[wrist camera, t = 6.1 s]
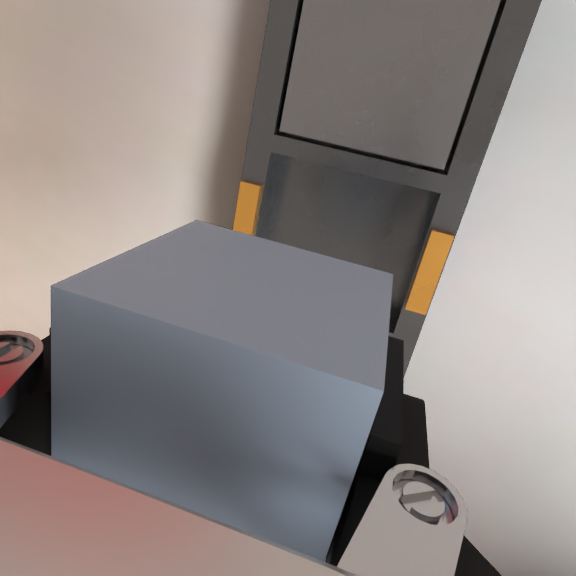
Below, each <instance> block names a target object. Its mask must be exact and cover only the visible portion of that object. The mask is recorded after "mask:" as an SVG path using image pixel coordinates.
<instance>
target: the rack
mask: <svg viewBox="0 0 576 576" xmlns="http://www.w3.org/2000/svg"><path fill="white" fill-rule="evenodd" d="M541 1H542V0H270V6H269V12H268V18H267V24H266V31H265V37H264V43H263V49H262V55H261V62H260V68H259V74H258V80H257V86H256V93H255V99H254V105H253V111H252V118H251V124H250V130H249V136H248V142H247V149H246V155H245V161H244V167H243V173H242V180H241V182H240V188H239V194H238V200H237V207H236V213H235V219H234V225H233V230H235V231H238V232H242V233H245V234H249V235H253V236H256V237H260V238H264V239H267V240H271V241H275V242H278V243H282V244H285V245H289V246H293V247H296V248H300V249H304V250H307V251H311V252H314V253H318V254H322V255H325V256H329V257H333V258H336V259H340V260H344V261H347V262H351V263H354V264H358V265H362V266H365V267H369V268H373V269H376V270H380V271H383V272H387V273H391V274H393V284H392V297H391V309H390V322H389V334H388V336H391V337H394V338H398V339H401V340H404V370H403V378H404V375H405V372H406V370H407V367H408V364H409V361H410V359H411V356H412V353H413V350H414V348H415V345H416V342H417V340H418V337H419V334H420V331H421V329H422V326H423V323H424V320H425V318H426V315H427V312H428V309H429V307H430V304H431V301H432V299H433V296H434V293H435V290H436V288H437V285H438V282H439V279H440V277H441V274H442V271H443V268H444V266H445V263H446V260H447V258H448V255H449V252H450V249H451V247H452V244H453V241H454V238H455V236H456V233H457V230H458V227H459V225H460V222H461V219H462V217H463V214H464V211H465V208H466V206H467V203H468V200H469V197H470V195H471V192H472V189H473V186H474V184H475V181H476V178H477V176H478V173H479V170H480V167H481V165H482V162H483V159H484V156H485V154H486V151H487V148H488V145H489V143H490V140H491V137H492V135H493V132H494V129H495V126H496V124H497V121H498V118H499V115H500V113H501V110H502V107H503V104H504V102H505V99H506V96H507V94H508V91H509V88H510V85H511V83H512V80H513V77H514V74H515V72H516V69H517V66H518V63H519V61H520V58H521V55H522V53H523V50H524V47H525V44H526V42H527V39H528V36H529V33H530V31H531V28H532V25H533V22H534V20H535V17H536V14H537V12H538V9H539V6H540V3H541Z"/></svg>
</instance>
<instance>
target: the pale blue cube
mask: <svg viewBox="0 0 576 576" xmlns="http://www.w3.org/2000/svg"><path fill="white" fill-rule="evenodd" d="M392 284H393V274H391V273H387V272H383V271H380V270H376V269H373V268H369V267H365V266H362V265H358V264H354V263H351V262H347V261H344V260H340V259H336V258H333V257H329V256H325V255H322V254H318V253H314V252H311V251H307V250H304V249H300V248H296V247H293V246H289V245H285V244H282V243H278V242H275V241H271V240H267V239H264V238H260V237H256V236H253V235H249V234H245V233H242V232H238V231H235V230H231V229H227V228H224V227H220V226H216V225H213V224H209V223H206V222H202V221H198V220H195V221H193V222H191V223H189V224H186V225H184V226H182V227H180V228H178V229H175V230H173V231H171V232H169V233H167V234H164V235H162V236H160V237H158V238H155V239H153V240H151V241H149V242H147V243H144V244H142V245H140V246H138V247H135V248H133V249H131V250H129V251H127V252H124V253H122V254H120V255H118V256H116V257H113V258H111V259H109V260H107V261H104V262H102V263H100V264H98V265H96V266H93V267H91V268H89V269H87V270H84V271H82V272H80V273H78V274H76V275H73V276H71V277H69V278H67V279H65V280H62V281H60V282H58V283H56V284H53V285H51V456H52V457H55V458H58V459H60V460H63V461H65V462H68V463H71V464H73V465H76V466H78V467H81V468H84V469H86V470H89V471H92V472H94V473H97V474H99V475H102V476H105V477H107V478H110V479H113V480H115V481H118V482H120V483H123V484H126V485H128V486H131V487H133V488H136V489H139V490H141V491H144V492H146V493H149V494H152V495H154V496H157V497H159V498H162V499H165V500H167V501H170V502H172V503H175V504H178V505H180V506H183V507H185V508H188V509H191V510H193V511H196V512H198V513H201V514H203V515H206V516H209V517H211V518H214V519H216V520H219V521H221V522H224V523H227V524H229V525H232V526H234V527H237V528H239V529H242V530H244V531H247V532H250V533H252V534H255V535H257V536H260V537H262V538H265V539H268V540H270V541H273V542H275V543H278V544H280V545H283V546H286V547H288V548H291V549H293V550H296V551H298V552H301V553H304V554H306V555H309V556H311V557H314V558H316V559H319V560H321V561H325V558H326V555H327V552H328V550H329V547H330V544H331V541H332V538H333V535H334V532H335V530H336V527H337V524H338V521H339V518H340V515H341V512H342V510H343V507H344V504H345V501H346V498H347V495H348V492H349V490H350V487H351V484H352V481H353V478H354V475H355V473H356V470H357V467H358V464H359V461H360V458H361V455H362V453H363V450H364V447H365V444H366V441H367V438H368V435H369V433H370V430H371V427H372V424H373V421H374V418H375V415H376V413H377V410H378V407H379V404H380V401H381V398H382V395H383V393H384V385H385V372H386V360H387V347H388V334H389V322H390V309H391V297H392Z"/></svg>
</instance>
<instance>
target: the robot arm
mask: <svg viewBox="0 0 576 576" xmlns="http://www.w3.org/2000/svg"><path fill="white" fill-rule="evenodd" d="M403 370H404V340H401V339H398V338H394V337H391V336H388V347H387V360H386V372H385V385H384V393H383V395H382V398H381V401H380V404H379V407H378V410H377V413H376V415H375V418H374V421H373V424H372V427H371V430H370V433H369V435H368V438H367V441H366V444H365V447H364V450H363V453H362V455H361V458H360V461H359V464H358V467H357V470H356V473H355V475H354V478H353V481H352V484H351V487H350V490H349V492H348V495H347V498H346V501H345V504H344V507H343V510H342V512H341V515H340V518H339V521H338V524H337V527H336V530H335V532H334V535H333V538H332V541H331V544H330V547H329V550H328V552H327V555H326V560H325V562H324V561H321V560H319V559H316V558H314V557H311V556H309V555H306V554H304V553H301V552H298V551H296V550H293V549H291V548H288V547H286V546H283V545H280V544H278V543H275V542H273V541H270V540H268V539H265V538H262V537H260V536H257V535H255V534H252V533H250V532H247V531H244V530H242V529H239V528H237V527H234V526H232V525H229V524H227V523H224V522H221V521H219V520H216V519H214V518H211V517H209V516H206V515H203V514H201V513H198V512H196V511H193V510H191V509H188V508H185V507H183V506H180V505H178V504H175V503H172V502H170V501H167V500H165V499H162V498H159V497H157V496H154V495H152V494H149V493H146V492H144V491H141V490H139V489H136V488H133V487H131V486H128V485H126V484H123V483H120V482H118V481H115V480H113V479H110V478H107V477H105V476H102V475H99V474H97V473H94V472H92V471H89V470H86V469H84V468H81V467H78V466H76V465H73V464H71V463H68V462H65V461H63V460H60V459H58V458H55V457H52V456H51V327H50V335H49V336H48V337H46V338H44V339H42V340H40V339H39V338H38V337H36V336H34V335H32V334H29V333H25V332H21V331H0V576H501V575H500V574H499V572H498V571H497V570H496V569H495V568H494V567H493V566H492V565H491V564H490V563H489V562H488V561H487V560H486V559H485V558H484V557H483V555H482V554H481V553H480V552H479V551H478V550H477V549H476V548H475V547H474V546H473V545H472V544H471V543H470V542H469V541H468V539H467V538H466V537H465V536H464V531H465V527H466V523H467V508H466V505H465V502H464V500H463V498H462V496H461V495H460V493H459V492H458V491H457V489H456V488H455V487H454V486H453V485H452V484H451V483H450V482H449V481H448V480H447V479H446V478H444V477H442V476H441V475H439V474H438V473H436V472H435V471H433V470H430V469H429V458H428V443H427V429H426V415H425V403H424V401H423V400H422V399H419V398H415V397H412V396H409V395H406V394H403Z"/></svg>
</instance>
